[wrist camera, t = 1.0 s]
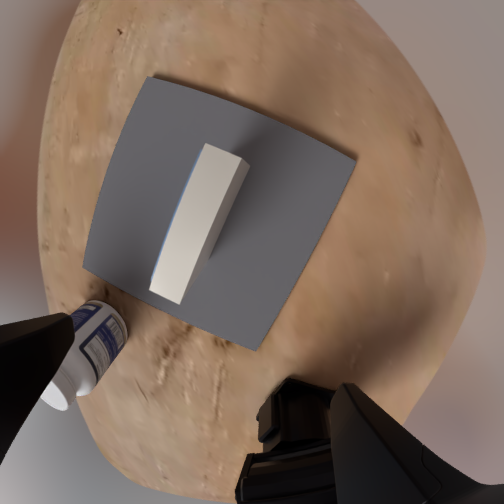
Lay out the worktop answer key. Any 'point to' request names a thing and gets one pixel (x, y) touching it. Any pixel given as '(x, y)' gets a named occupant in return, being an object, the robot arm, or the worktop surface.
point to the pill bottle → (87, 353)
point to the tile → (197, 221)
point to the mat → (238, 220)
